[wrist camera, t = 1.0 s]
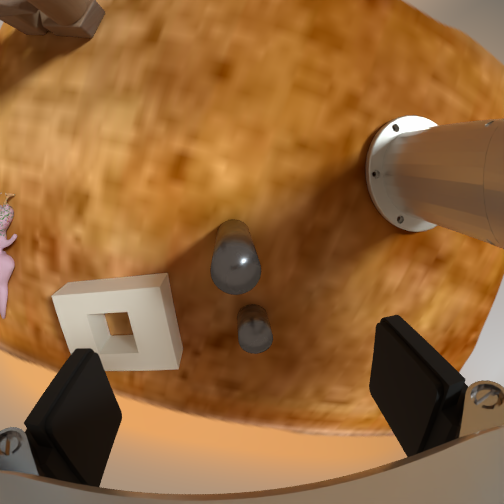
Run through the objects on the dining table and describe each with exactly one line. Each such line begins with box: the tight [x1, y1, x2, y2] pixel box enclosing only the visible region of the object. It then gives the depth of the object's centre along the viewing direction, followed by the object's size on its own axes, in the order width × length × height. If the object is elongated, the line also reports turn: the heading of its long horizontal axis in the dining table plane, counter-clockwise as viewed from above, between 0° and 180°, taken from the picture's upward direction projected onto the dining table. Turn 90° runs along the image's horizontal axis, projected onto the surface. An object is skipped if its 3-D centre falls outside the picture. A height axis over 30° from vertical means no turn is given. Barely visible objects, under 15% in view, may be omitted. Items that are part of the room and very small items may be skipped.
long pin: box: [211, 219, 261, 295], centre depth 25 cm, size 3×3×11 cm
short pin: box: [237, 304, 273, 354], centre depth 31 cm, size 3×3×4 cm
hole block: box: [52, 273, 183, 371], centre depth 30 cm, size 12×9×4 cm
